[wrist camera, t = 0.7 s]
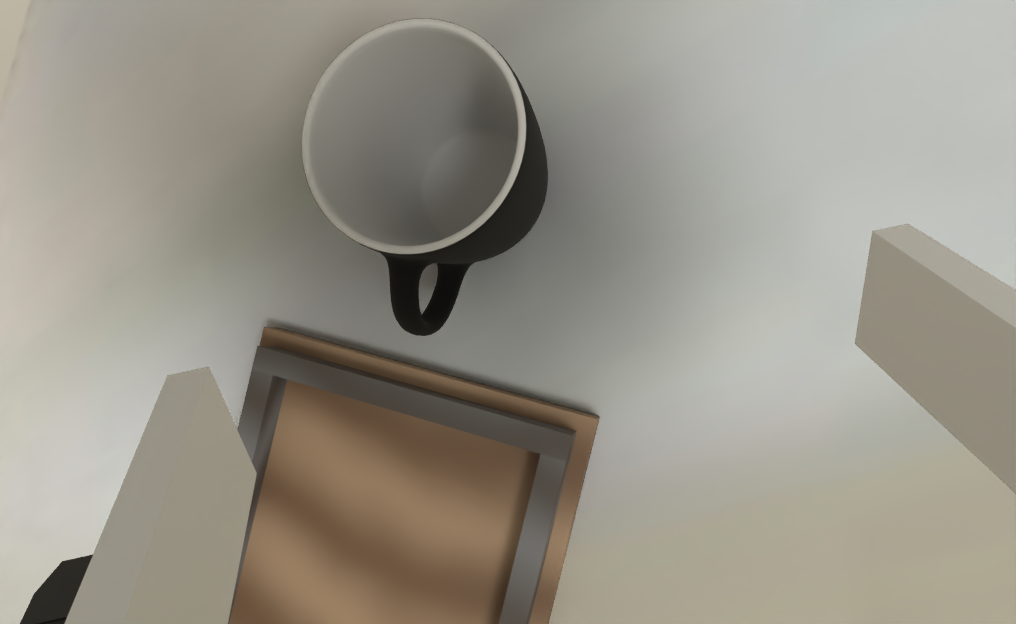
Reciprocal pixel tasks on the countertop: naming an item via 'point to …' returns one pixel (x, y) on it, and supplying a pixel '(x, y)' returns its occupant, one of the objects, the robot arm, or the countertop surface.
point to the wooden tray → (400, 492)
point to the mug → (425, 156)
